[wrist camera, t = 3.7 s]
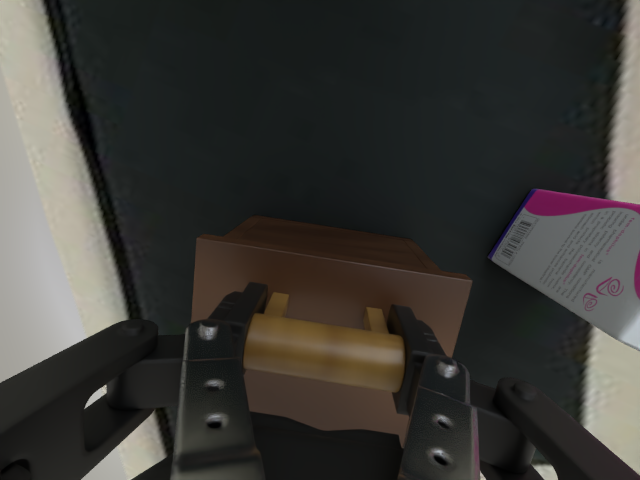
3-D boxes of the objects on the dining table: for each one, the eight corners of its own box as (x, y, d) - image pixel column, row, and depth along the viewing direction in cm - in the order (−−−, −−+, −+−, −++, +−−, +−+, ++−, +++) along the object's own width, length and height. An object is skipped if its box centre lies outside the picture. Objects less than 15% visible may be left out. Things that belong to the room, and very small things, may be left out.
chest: (253, 214, 25) (202, 250, 15) (412, 239, 25) (461, 291, 15) (235, 386, 28) (185, 504, 19) (374, 408, 28) (394, 537, 19)
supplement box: (553, 292, 25) (729, 401, 14) (484, 257, 25) (608, 339, 13) (604, 223, 24) (843, 283, 13) (532, 185, 23) (713, 210, 12)
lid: (203, 233, 15) (137, 271, 10) (466, 274, 15) (532, 333, 10) (184, 505, 19) (130, 631, 14) (394, 538, 18) (417, 678, 14)
